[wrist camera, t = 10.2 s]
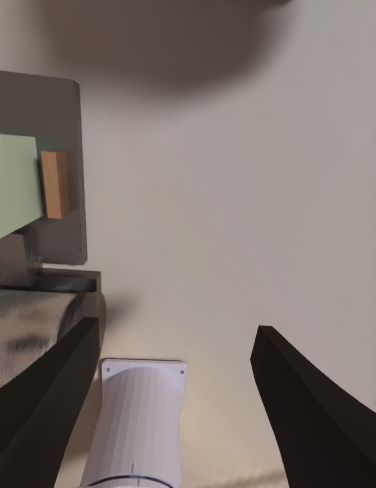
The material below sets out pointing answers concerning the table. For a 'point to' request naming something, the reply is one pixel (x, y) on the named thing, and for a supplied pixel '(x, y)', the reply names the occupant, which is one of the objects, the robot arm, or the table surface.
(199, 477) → the table surface
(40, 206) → the sage green cube
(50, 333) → the motor mount
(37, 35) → the table surface
